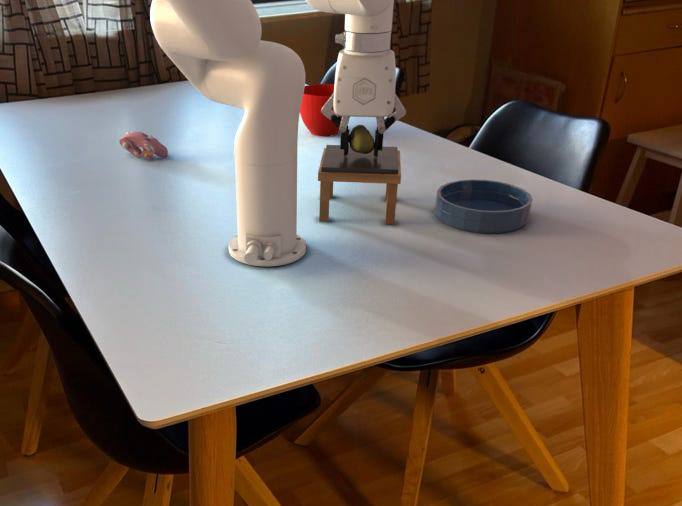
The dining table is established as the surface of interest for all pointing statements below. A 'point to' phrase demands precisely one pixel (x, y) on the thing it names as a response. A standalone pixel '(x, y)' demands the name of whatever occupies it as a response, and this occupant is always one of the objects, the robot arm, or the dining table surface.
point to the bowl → (483, 206)
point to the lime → (361, 140)
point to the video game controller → (143, 145)
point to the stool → (359, 174)
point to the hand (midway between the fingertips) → (361, 152)
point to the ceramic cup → (317, 110)
